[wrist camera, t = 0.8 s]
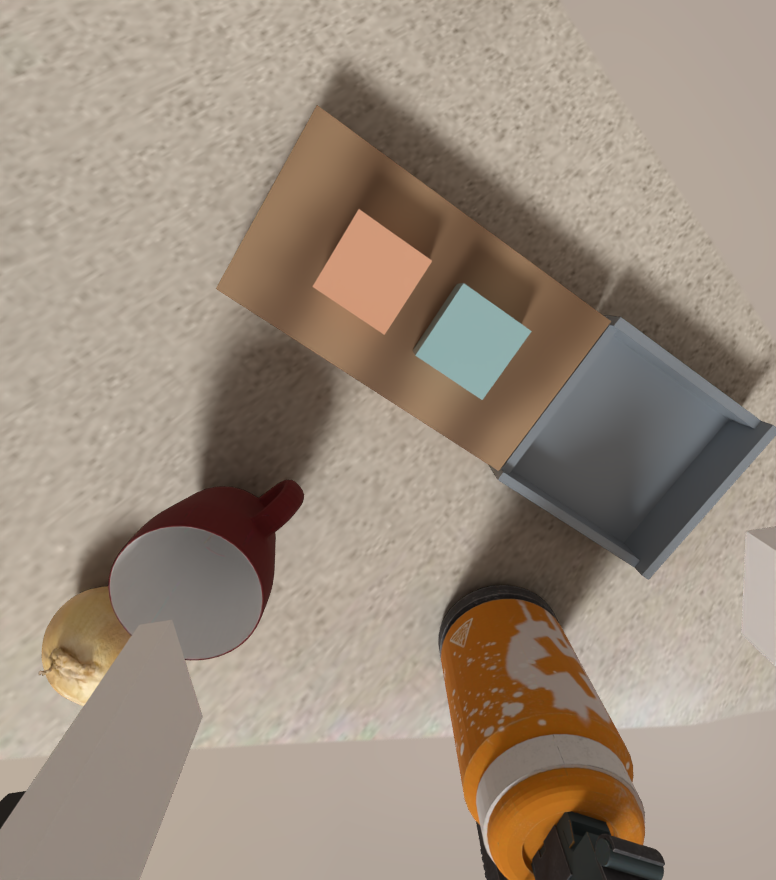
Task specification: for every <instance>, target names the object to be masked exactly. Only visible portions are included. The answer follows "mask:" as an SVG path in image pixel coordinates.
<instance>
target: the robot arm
mask: <svg viewBox="0 0 776 880" xmlns="http://www.w3.org/2000/svg"><path fill="white" fill-rule="evenodd" d="M741 634H742V635H743V636H744V637H745V638H746V639H747V640H748V641H749V642H750V643H751V644H752V645H753V646H754V647H755V648H756V649H757V650H759V651H760V652H761V653H762V654H763V655H764V656H765V657H766V658H767V659H768V660H769V661H770V662H771V663H772V664H773V665H775V666H776V526H775V527H769V528H762V529H756V530H749V531H746V539H745V562H744V584H743V607H742V629H741ZM202 717H203V716H202V713H201V710H200V706H199V703H198V700H197V697H196V694H195V691H194V687H193V684H192V681H191V678H190V675H189V672H188V668H187V665H186V662H185V659H184V656H183V653H182V649H181V646H180V643H179V640H178V637H177V634H176V630H175V627H174V624H173V621H172V620H167V621H160V622H154V623H147V624H141V625H139V626H138V627H137V629H136V630H135V631H134V633H133V634H132V636H131V637H130V639H129V640H128V642H127V643H126V645H125V646H124V648H123V649H122V651H121V652H120V654H119V655H118V657H117V658H116V659H115V661H114V662H113V664H112V665H111V667H110V668H109V670H108V671H107V673H106V674H105V676H104V677H103V679H102V680H101V682H100V683H99V685H98V686H97V687H96V689H95V690H94V692H93V693H92V695H91V696H90V698H89V699H88V701H87V702H86V704H85V705H84V707H83V708H82V710H81V711H80V713H79V714H78V715H77V717H76V718H75V720H74V721H73V723H72V724H71V726H70V727H69V729H68V730H67V732H66V733H65V735H64V736H63V738H62V739H61V741H60V742H59V743H58V745H57V746H56V748H55V749H54V751H53V752H52V754H51V755H50V757H49V758H48V760H47V761H46V763H45V764H44V766H43V767H42V769H41V770H40V771H39V773H38V775H37V776H36V777H35V779H34V780H33V782H32V783H31V785H30V786H29V788H28V789H27V791H23V792H17V793H10V794H8V795H7V796H5V797H4V798H3V799H2V800H1V801H0V880H139V879H140V877H141V874H142V872H143V869H144V867H145V864H146V861H147V859H148V856H149V854H150V851H151V848H152V846H153V843H154V840H155V838H156V835H157V833H158V830H159V828H160V825H161V822H162V820H163V817H164V815H165V812H166V810H167V807H168V804H169V802H170V799H171V797H172V794H173V792H174V789H175V786H176V784H177V781H178V779H179V776H180V773H181V771H182V768H183V766H184V763H185V761H186V758H187V755H188V753H189V750H190V748H191V745H192V742H193V740H194V737H195V735H196V732H197V730H198V727H199V724H200V722H201V719H202Z"/></svg>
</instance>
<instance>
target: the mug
mask: <svg viewBox="0 0 776 880" xmlns="http://www.w3.org/2000/svg"><path fill="white" fill-rule="evenodd" d="M303 500H304V493H303V490H302V489H301V487H300V486H299V485H298V484H297V483H296V482H295V481H293V480H284V481H282V482H280V483H278V484H277V485H275V486H274V487H272V488H271V489H270V490H269V491H267V492H266V493H265V494H263V495H262V496H261V497H259V498H258V497H256V496H254V495H253V494H251V493H249V492H247V491H245V490H242V489H239V488H234V487H225V486H224V487H213V488H208V489H205V490H202V491H200V492H197V493H195V494H193V495H192V496H190V497H188V498H186V499H184V500H182V501H180V502H179V503H177V504H175V505H173V506H171V507H169V508H168V509H166V510H164V511H162V512H161V513H159V514H158V515H156V516H155V517H153V518H152V519H151V520H150V521H149V522H147V523H146V524H145V525H144V526H143V527H142V528H141V529H140V530H139V531H138V532H137V533H136V534H135V535H134V536H133V537H132V538H131V539H130V540H129V542H128V543H127V544H126V545H125V546H124V547H123V548H122V550H121V551H120V552H119V554H118V555H117V557H116V559H115V561H114V563H113V565H112V568H111V571H110V575H109V584H108V589H109V598H110V602H111V605H112V608H113V611H114V613H115V615H116V617H117V619H118V620H119V622H120V623H121V625H122V626H123V627H124V629H125V630H126V631H127V632H128V633H129V634H130V635H131V636H132V634H133V633H134V631H135V630H136V629H137V627H138V626H139V625H141V624H147V623H154V622H160V621H167V620H172V621H173V624H174V627H175V630H176V634H177V637H178V640H179V643H180V646H181V649H182V653H183V656H184V659H185V660H206V659H211V658H215V657H219V656H221V655H224V654H226V653H229V652H231V651H232V650H234V649H236V648H237V647H239V646H240V645H241V644H243V643H244V642H245V641H246V640H247V639H248V638H249V637H250V636H251V634H252V633H253V632H254V630H255V629H256V627H257V625H258V623H259V622H260V619H261V617H262V614H263V612H264V609H265V607H266V604H267V602H268V599H269V596H270V593H271V589H272V585H273V579H274V568H275V542H276V536H275V532H276V531H277V530H278V529H280V528H281V527H282V526H283V525H284V524H285V523H286V522H287V521H289V520H290V518H291V517H292V516H293V515H294V514H295V513H296V512H297V510H298V509H299V508H300V506H301V505H302V503H303Z"/></svg>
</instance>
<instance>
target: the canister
mask: <svg viewBox="0 0 776 880" xmlns="http://www.w3.org/2000/svg"><path fill="white" fill-rule="evenodd" d="M438 644H439V650H440V656H441V662H442V668H443V674H444V680H445V686H446V692H447V698H448V703H449V709H450V715H451V721H452V727H453V733H454V739H455V744H456V751H457V756H458V762H459V768H460V774H461V780H462V786H463V792H464V798H465V802H466V804H467V807H468V810H469V811H470V813H471V815H472V816H473V818H474V819H475V820H476V824H477V829H478V835H479V840H480V846H481V854H482V861H483V862H484V865H483V866H484V870H485V877H486V879H487V880H662V878H663V874H664V868H663V866H664V865H665V862H664V860H663V857H662V856H661V854H660V853H659V852H658V851H657V850H656V849H653V848H650V847H647V846H643V842H644V836H645V825H644V824H645V812H644V808H643V804H642V801H641V799H640V798H639V795H638V793H637V791H636V789H635V787H634V785H633V783H632V782H633V764H632V761H631V756H630V754H629V752H628V750H627V748H626V746H625V744H624V742H623V740H622V738H621V737H620V735H619V733H618V731H617V729H616V727H615V725H614V724H613V722H612V720H611V718H610V716H609V714H608V713H607V711H606V709H605V707H604V705H603V703H602V701H601V700H600V698H599V696H598V694H597V692H596V690H595V689H594V687H593V685H592V683H591V681H590V679H589V677H588V676H587V674H586V672H585V670H584V668H583V666H582V665H581V663H580V661H579V659H578V657H577V655H576V653H575V652H574V650H573V648H572V646H571V644H570V642H569V641H568V639H567V637H566V635H565V633H564V631H563V629H562V628H561V626H560V624H559V622H558V620H557V618H556V617H555V615H554V613H553V611H552V610H551V608H550V607H549V605H548V604H547V603H546V602H545V601H544V600H543V599H542V598H540V597H539V596H537V595H536V594H534V593H532V592H530V591H528V590H526V589H523V588H519V587H515V586H507V585H504V586H491V587H486V588H482V589H479V590H477V591H474V592H472V593H470V594H468V595H467V596H465V597H463V598H462V599H460V600H459V601H458V602H457V603H456V604H455V605H454V606H453V607H452V608H451V609H450V610H449V612H448V613H447V615H446V616H445V618H444V620H443V622H442V625H441V627H440V632H439V642H438Z"/></svg>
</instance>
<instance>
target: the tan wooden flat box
mask: <svg viewBox="0 0 776 880" xmlns="http://www.w3.org/2000/svg"><path fill="white" fill-rule="evenodd" d="M359 209H360V210H361V211H362V212H364V213H365V214H367V215H368V216H370V217H371V218H372V219H374V220H375V221H377V222H378V223H379V224H381V225H382V226H384V227H385V228H386V229H388V230H389V231H391V232H392V233H394V234H395V235H396V236H398V237H399V238H401V239H402V240H403V241H405V242H406V243H408V244H409V245H410V246H412V247H413V248H415V249H416V250H418V251H419V252H420V253H422V254H423V255H425V256H426V257H427V258H429V259H430V260H432V262H431V264H430V265H429V267H428V268H427V270H426V272H425V273H424V275H423V276H422V278H421V279H420V281H419V282H418V284H417V285H416V287H415V289H414V290H413V292H412V293H411V295H410V296H409V298H408V299H407V301H406V302H405V304H404V306H403V307H402V309H401V310H400V312H399V313H398V315H397V316H396V318H395V319H394V321H393V323H392V324H391V326H390V327H389V329H388V330H387V332H386V333H385V335H384V334H382V333H381V332H379V331H378V330H376V329H375V328H373V327H372V326H370V325H369V324H367V323H366V322H364V321H363V320H361V319H360V318H358V317H357V316H355V315H354V314H352V313H351V312H349V311H348V310H346V309H345V308H343V307H342V306H340V305H339V304H337V303H336V302H334V301H333V300H331V299H330V298H329V297H327V296H326V295H324V294H323V293H321V292H320V291H318V290H317V289H315V288H314V287H313V285H314V283H315V282H316V280H317V278H318V277H319V275H320V273H321V272H322V270H323V268H324V266H325V265H326V263H327V261H328V260H329V258H330V256H331V255H332V253H333V251H334V250H335V248H336V246H337V245H338V243H339V241H340V240H341V238H342V236H343V235H344V233H345V231H346V230H347V228H348V226H349V225H350V223H351V221H352V220H353V218H354V216H355V215H356V213H357V211H358V210H359ZM460 283H464V284H466V285H467V286H468V287H470V288H471V289H473V290H474V291H475V292H477V293H478V294H480V295H481V296H482V297H484V298H485V299H487V300H488V301H490V302H491V303H492V304H494V305H495V306H497V307H498V308H499V309H501V310H502V311H504V312H505V313H506V314H508V315H509V316H511V317H512V318H514V319H515V320H516V321H518V322H519V323H521V324H522V325H523V326H525V327H526V328H528V329H529V330H530V331H532V332H531V333H530V334H529V336H528V337H527V338H526V340H525V341H524V343H523V344H522V345H521V347H520V348H519V350H518V351H517V352H516V354H515V355H514V357H513V358H512V359H511V361H510V362H509V364H508V365H507V366H506V368H505V369H504V371H503V372H502V373H501V375H500V376H499V378H498V379H497V380H496V382H495V383H494V385H493V386H492V387H491V389H490V390H489V391H488V393H487V394H486V396H485V397H484V398H483V400H481V399H480V398H478V397H477V396H475V395H474V394H472V393H471V392H469V391H468V390H466V389H465V388H463V387H462V386H460V385H459V384H457V383H456V382H454V381H453V380H451V379H450V378H448V377H447V376H445V375H444V374H442V373H441V372H439V371H438V370H436V369H435V368H433V367H432V366H430V365H429V364H427V363H426V362H424V361H423V360H421V359H420V358H418V357H417V356H415V354H414V352H413V349H414V347H415V346H416V344H417V343H418V341H419V340H420V338H421V337H422V335H423V334H424V332H425V331H426V329H427V328H428V326H429V325H430V323H431V322H432V320H433V319H434V317H435V316H436V314H437V313H438V311H439V310H440V308H441V307H442V305H443V304H444V302H445V301H446V299H447V298H448V296H449V295H450V293H451V292H452V290H453V289H454V287H455V286H456V284H460ZM216 289H217V290H218V291H220V292H222V293H223V294H225V295H226V296H228V297H229V298H231V299H232V300H234V301H236V302H237V303H239V304H240V305H242V306H243V307H245V308H246V309H248V310H250V311H251V312H253V313H254V314H256V315H257V316H259V317H260V318H262V319H263V320H265V321H267V322H268V323H270V324H271V325H273V326H274V327H276V328H277V329H279V330H281V331H282V332H284V333H285V334H287V335H288V336H290V337H291V338H293V339H295V340H296V341H298V342H299V343H301V344H302V345H304V346H305V347H307V348H308V349H310V350H312V351H313V352H315V353H316V354H318V355H319V356H321V357H322V358H324V359H326V360H327V361H329V362H330V363H332V364H333V365H335V366H336V367H338V368H340V369H341V370H343V371H344V372H346V373H347V374H349V375H350V376H352V377H353V378H355V379H357V380H358V381H360V382H361V383H363V384H364V385H366V386H367V387H369V388H371V389H372V390H374V391H375V392H377V393H378V394H380V395H381V396H383V397H385V398H386V399H388V400H389V401H391V402H392V403H394V404H395V405H397V406H398V407H400V408H402V409H403V410H405V411H406V412H408V413H409V414H411V415H412V416H414V417H416V418H417V419H419V420H420V421H422V422H423V423H425V424H426V425H428V426H430V427H431V428H433V429H434V430H436V431H437V432H439V433H440V434H442V435H443V436H445V437H447V438H448V439H450V440H451V441H453V442H454V443H456V444H457V445H459V446H461V447H462V448H464V449H465V450H467V451H468V452H470V453H471V454H473V455H475V456H476V457H478V458H479V459H481V460H482V461H484V462H485V463H487V464H488V465H490V466H492V467H493V468H495V469H496V470H498V471H499V470H500V469H501V467H502V466H503V465H504V463H505V462H506V461H507V459H508V458H509V457H510V455H511V454H512V453H513V451H514V450H515V449H516V447H517V446H518V445H519V443H520V442H521V441H522V439H523V438H524V437H525V435H526V434H527V433H528V431H529V430H530V429H531V427H532V426H533V425H534V423H535V422H536V421H537V419H538V418H539V417H540V416H541V414H542V413H543V412H544V410H545V409H546V408H547V406H548V405H549V404H550V402H551V401H552V400H553V398H554V397H555V396H556V394H557V393H558V392H559V390H560V389H561V388H562V386H563V385H564V384H565V382H566V381H567V380H568V378H569V377H570V376H571V374H572V373H573V372H574V370H575V369H576V368H577V366H578V365H579V364H580V362H581V361H582V360H583V358H584V357H585V356H586V354H587V353H588V352H589V350H590V349H591V348H592V346H593V345H594V344H595V342H596V341H597V340H598V338H599V337H600V336H601V334H602V333H603V332H604V330H605V329H606V328H607V326H608V325H609V324H610V322H611V321H610V320H609V319H607V318H606V317H605V316H603V315H602V314H601V313H599V312H598V311H596V310H595V309H594V308H592V307H591V306H590V305H588V304H587V303H586V302H584V301H583V300H582V299H580V298H579V297H577V296H576V295H575V294H573V293H572V292H571V291H569V290H568V289H567V288H565V287H564V286H562V285H561V284H560V283H558V282H557V281H556V280H554V279H553V278H552V277H550V276H549V275H548V274H546V273H545V272H543V271H542V270H541V269H539V268H538V267H537V266H535V265H534V264H533V263H531V262H530V261H528V260H527V259H526V258H524V257H523V256H522V255H520V254H519V253H518V252H516V251H515V250H514V249H512V248H511V247H509V246H508V245H507V244H505V243H504V242H503V241H501V240H500V239H499V238H497V237H496V236H494V235H493V234H492V233H490V232H489V231H488V230H486V229H485V228H484V227H482V226H481V225H480V224H478V223H477V222H475V221H474V220H473V219H471V218H470V217H469V216H467V215H466V214H465V213H463V212H462V211H460V210H459V209H458V208H456V207H455V206H454V205H452V204H451V203H450V202H448V201H447V200H446V199H444V198H443V197H441V196H440V195H439V194H437V193H436V192H435V191H433V190H432V189H431V188H429V187H428V186H426V185H425V184H424V183H422V182H421V181H420V180H418V179H417V178H416V177H414V176H413V175H412V174H410V173H409V172H407V171H406V170H405V169H403V168H402V167H401V166H399V165H398V164H397V163H395V162H394V161H392V160H391V159H390V158H388V157H387V156H386V155H384V154H383V153H382V152H380V151H379V150H378V149H376V148H375V147H373V146H372V145H371V144H369V143H368V142H367V141H365V140H364V139H363V138H361V137H360V136H358V135H357V134H356V133H354V132H353V131H352V130H350V129H349V128H348V127H346V126H345V125H344V124H342V123H341V122H339V121H338V120H337V119H335V118H334V117H333V116H331V115H330V114H329V113H327V112H326V111H324V110H323V109H322V108H320V107H319V106H318V105H317V106H316V108H315V110H314V112H313V113H312V115H311V117H310V119H309V121H308V123H307V124H306V126H305V128H304V130H303V132H302V133H301V135H300V137H299V139H298V141H297V142H296V144H295V146H294V148H293V150H292V152H291V153H290V155H289V157H288V159H287V161H286V162H285V164H284V166H283V168H282V170H281V172H280V173H279V175H278V177H277V179H276V181H275V182H274V184H273V186H272V188H271V190H270V191H269V193H268V195H267V197H266V199H265V201H264V202H263V204H262V206H261V208H260V210H259V211H258V213H257V215H256V217H255V219H254V221H253V222H252V224H251V226H250V228H249V230H248V231H247V233H246V235H245V237H244V239H243V240H242V242H241V244H240V246H239V248H238V250H237V251H236V253H235V255H234V257H233V259H232V260H231V262H230V264H229V266H228V268H227V269H226V271H225V273H224V275H223V277H222V279H221V280H220V282H219V284H218V286H217V288H216Z"/></svg>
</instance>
